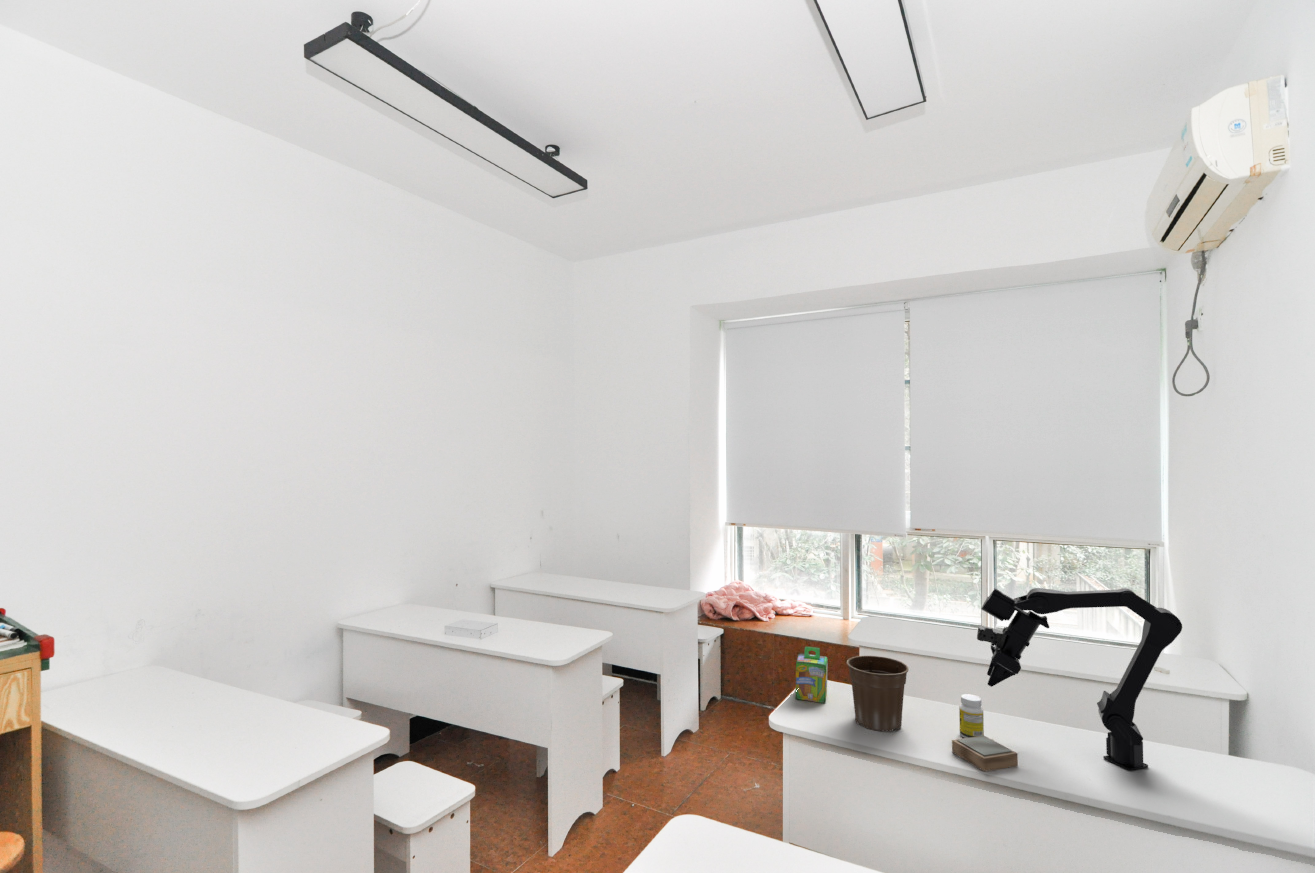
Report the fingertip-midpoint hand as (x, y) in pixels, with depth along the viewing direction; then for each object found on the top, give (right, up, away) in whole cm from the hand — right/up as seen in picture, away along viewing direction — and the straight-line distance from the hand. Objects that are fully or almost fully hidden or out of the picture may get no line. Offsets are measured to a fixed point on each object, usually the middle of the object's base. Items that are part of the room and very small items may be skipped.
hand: (989, 680), depth 162 cm
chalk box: (-41, -16, +26) cm, 51 cm away
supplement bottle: (-5, -15, -1) cm, 16 cm away
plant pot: (-28, -15, +7) cm, 32 cm away
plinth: (-9, -14, -14) cm, 21 cm away
